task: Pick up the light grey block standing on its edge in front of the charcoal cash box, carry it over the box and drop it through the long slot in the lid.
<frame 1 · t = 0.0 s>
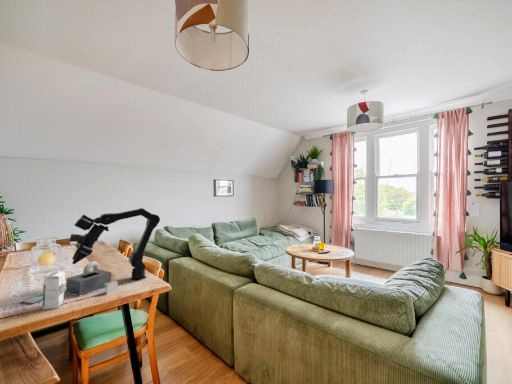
hand: (73, 261, 122), 15 cm above the table, tool tilted 35°, fingers open, 9 cm apart
syrup box: (53, 306, 105), on the table
light grey block: (110, 292, 122), on the table
smartphone: (42, 298, 114), on the table
donut: (91, 279, 139), on the table
cash box: (89, 288, 125), on the table
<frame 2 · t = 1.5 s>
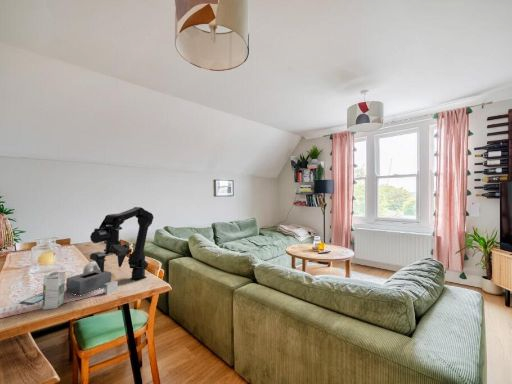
hand: (111, 269, 122), 12 cm above the table, tool pointing down, fingers open, 9 cm apart
nothing on the table moved.
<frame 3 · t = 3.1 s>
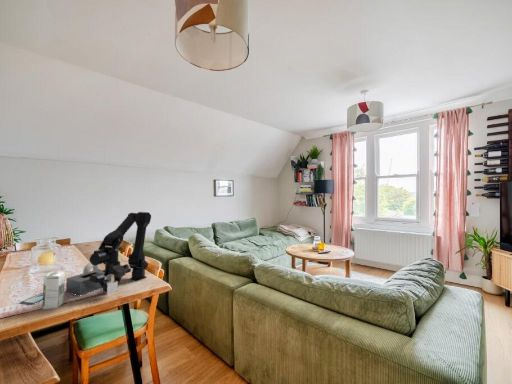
hand: (110, 290, 122), 1 cm above the table, tool pointing down, fingers closed on light grey block, 5 cm apart
light grey block: (110, 292, 122), on the table, touching gripper
everything else where it was.
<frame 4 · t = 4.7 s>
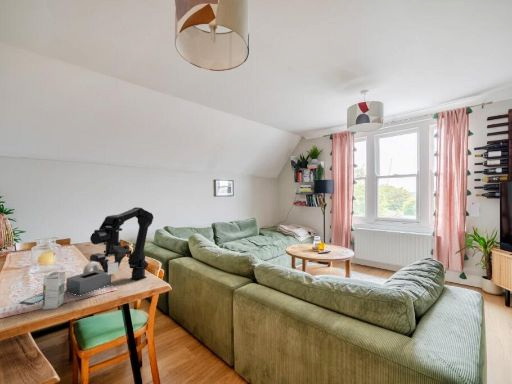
hand: (111, 270, 121), 11 cm above the table, tool pointing down, fingers closed on light grey block, 5 cm apart
light grey block: (111, 272, 121), point 10 cm above the table, touching gripper
everything else where it was.
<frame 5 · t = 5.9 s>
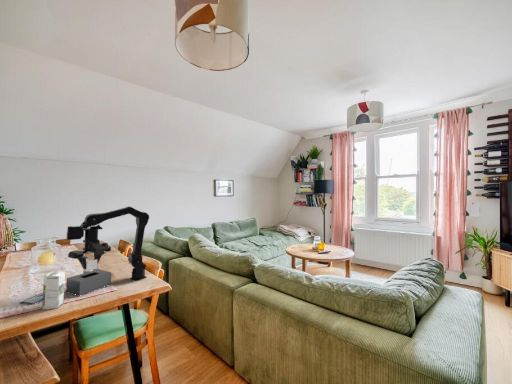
hand: (90, 267, 125), 11 cm above the table, tool pointing down, fingers closed on light grey block, 5 cm apart
light grey block: (90, 269, 125), point 10 cm above the table, touching gripper
everything else where it was.
when the fingers open (9 cm above the table, at t = 6.7 s): light grey block drops 7 cm, resting on cash box.
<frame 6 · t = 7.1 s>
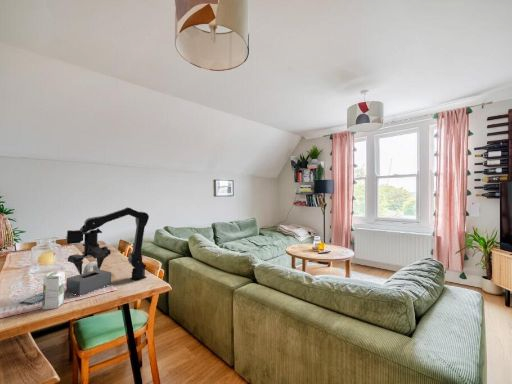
hand: (90, 271, 125), 9 cm above the table, tool pointing down, fingers open, 9 cm apart
light grey block: (89, 286, 125), point 1 cm above the table, touching cash box
everything else where it was.
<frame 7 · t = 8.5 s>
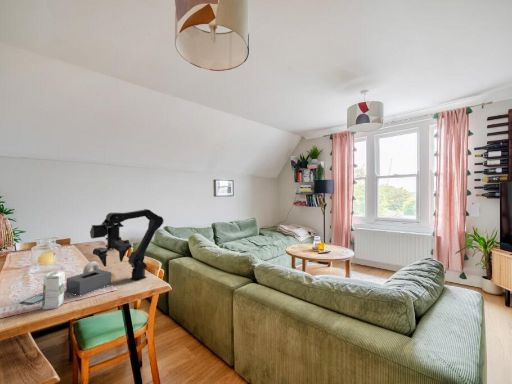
hand: (113, 263, 130), 12 cm above the table, tool pointing down, fingers open, 9 cm apart
nothing on the table moved.
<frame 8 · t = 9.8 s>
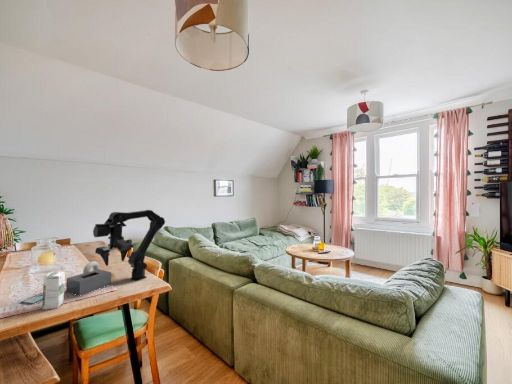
hand: (115, 263, 131), 12 cm above the table, tool pointing down, fingers open, 9 cm apart
nothing on the table moved.
at the end: light grey block inside the target area on the cash box (0.1 cm from its centre), point 0.8 cm above the cash box's base; the gripper is holding nothing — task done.
